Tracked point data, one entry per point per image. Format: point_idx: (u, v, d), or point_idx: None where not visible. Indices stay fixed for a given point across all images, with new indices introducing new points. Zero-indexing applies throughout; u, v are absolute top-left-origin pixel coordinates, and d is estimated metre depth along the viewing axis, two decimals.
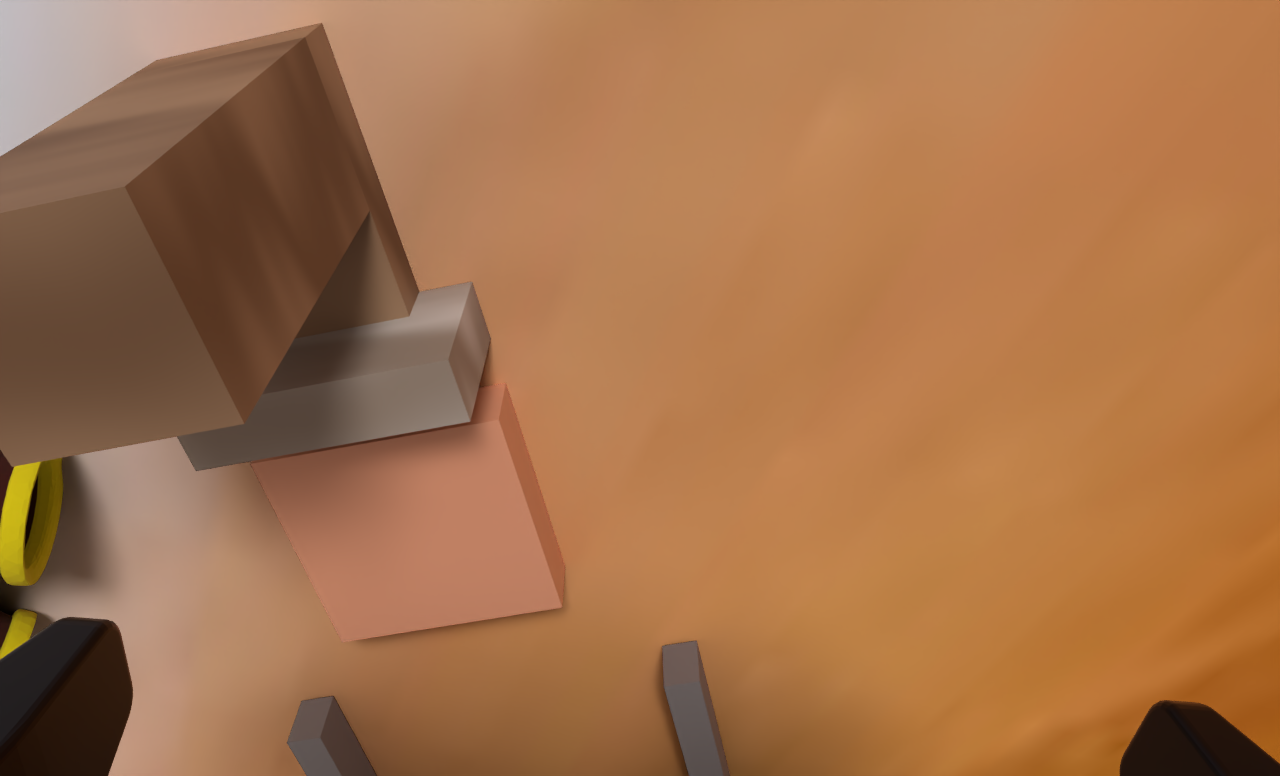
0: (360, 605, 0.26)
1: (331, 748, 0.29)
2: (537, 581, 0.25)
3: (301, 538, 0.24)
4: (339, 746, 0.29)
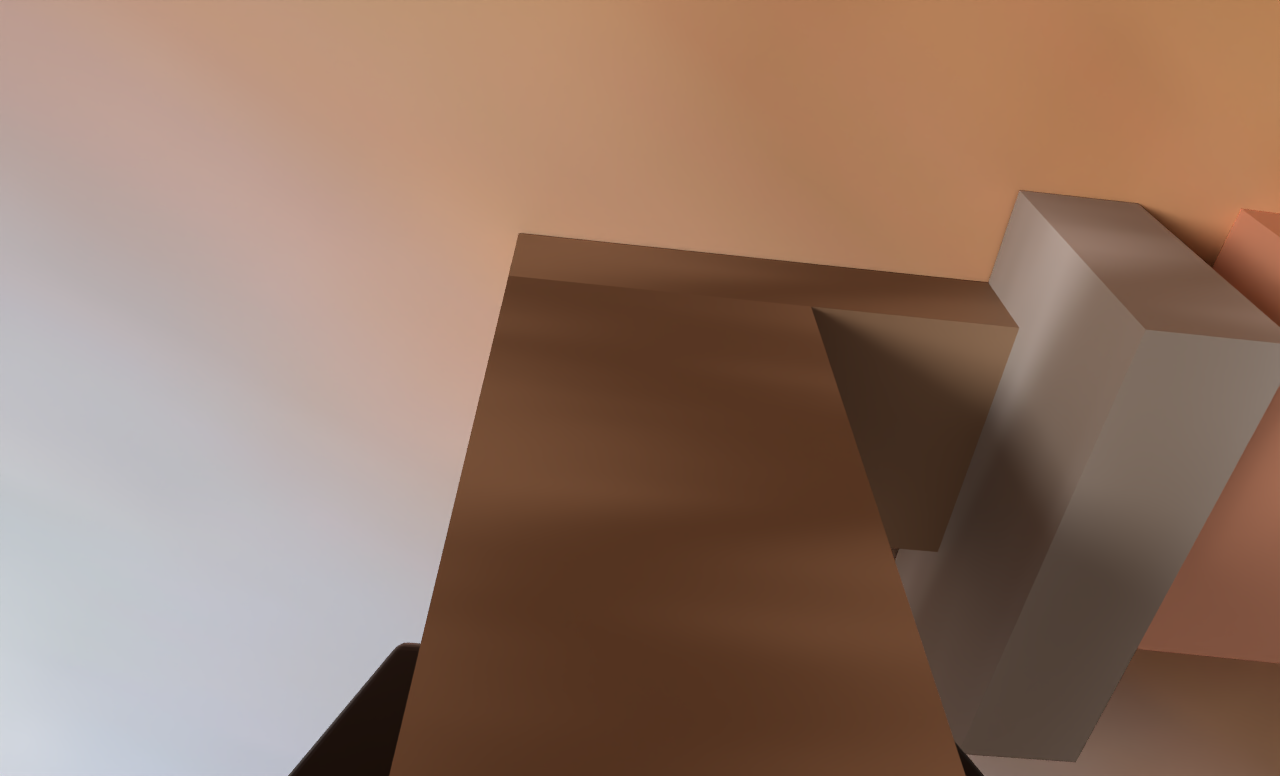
0: None
1: None
2: None
3: (1273, 646, 0.14)
4: None
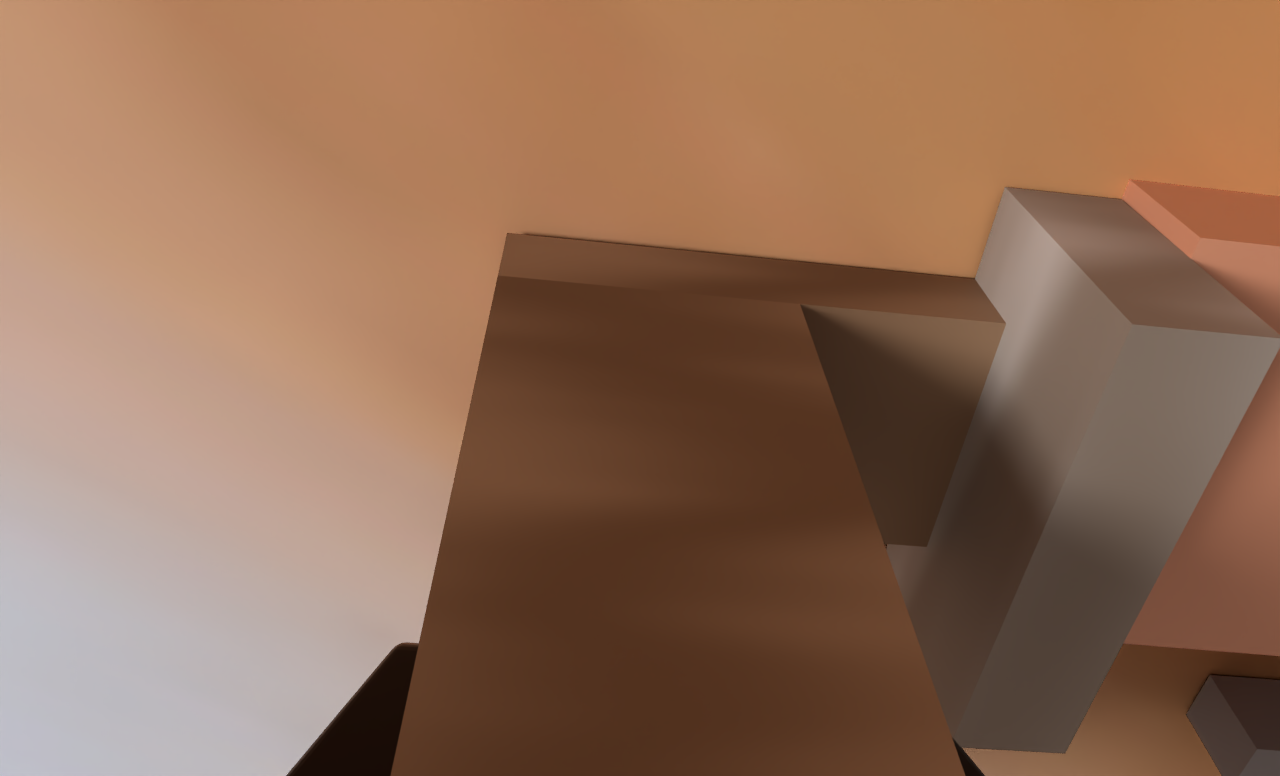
0: None
1: None
2: None
3: (1194, 633, 0.14)
4: None
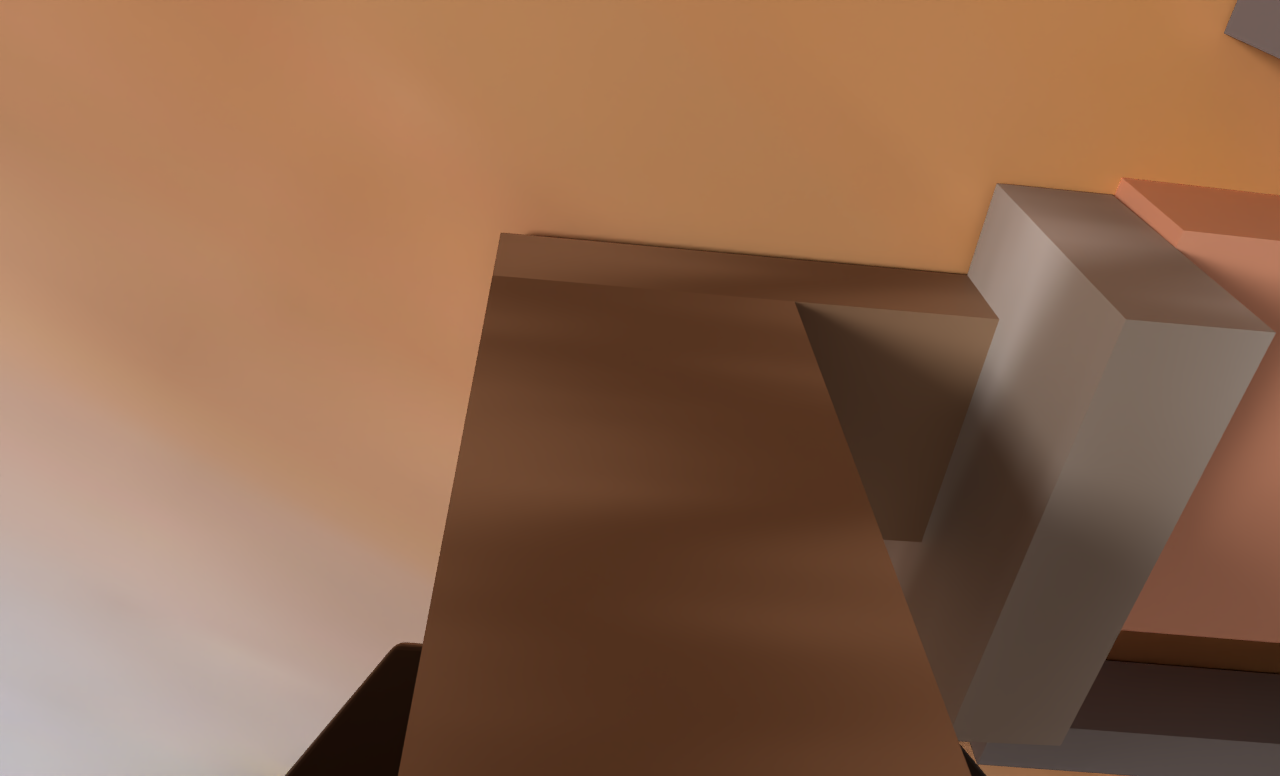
0: None
1: None
2: None
3: (1181, 619, 0.14)
4: None
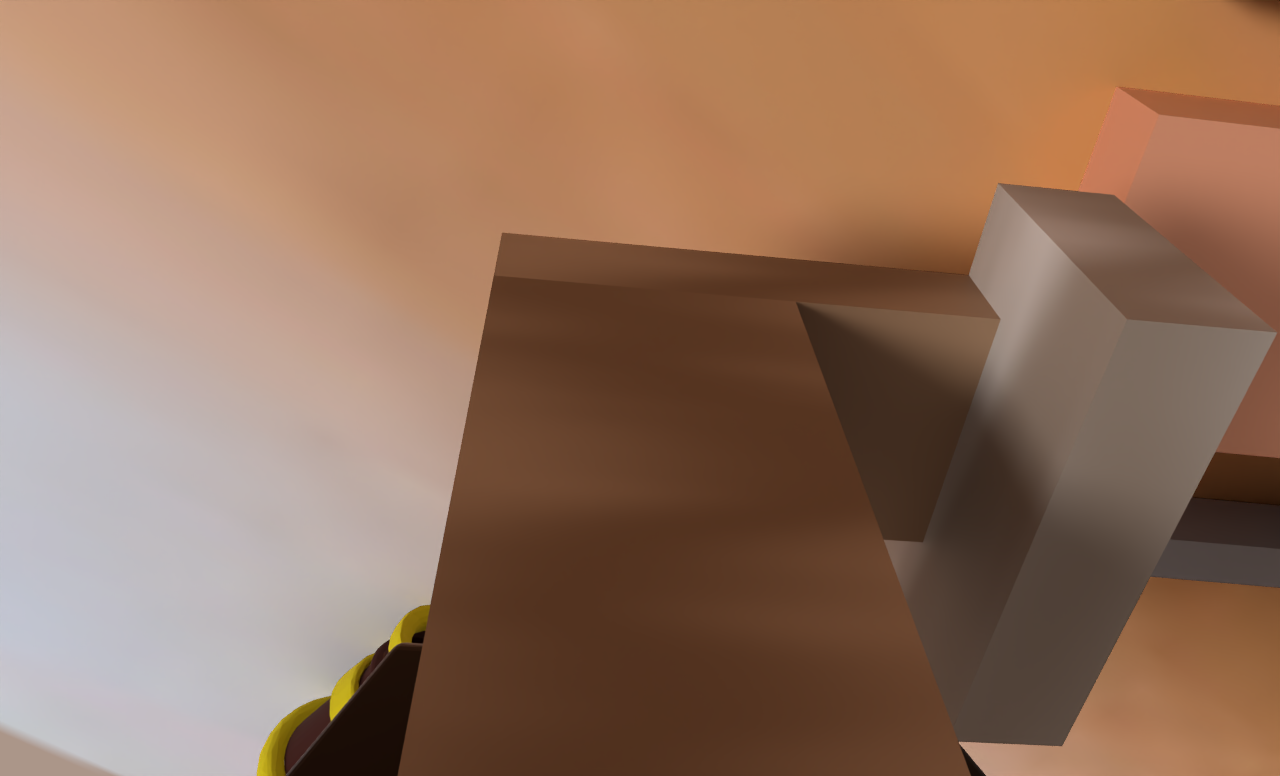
0: None
1: None
2: None
3: None
4: None
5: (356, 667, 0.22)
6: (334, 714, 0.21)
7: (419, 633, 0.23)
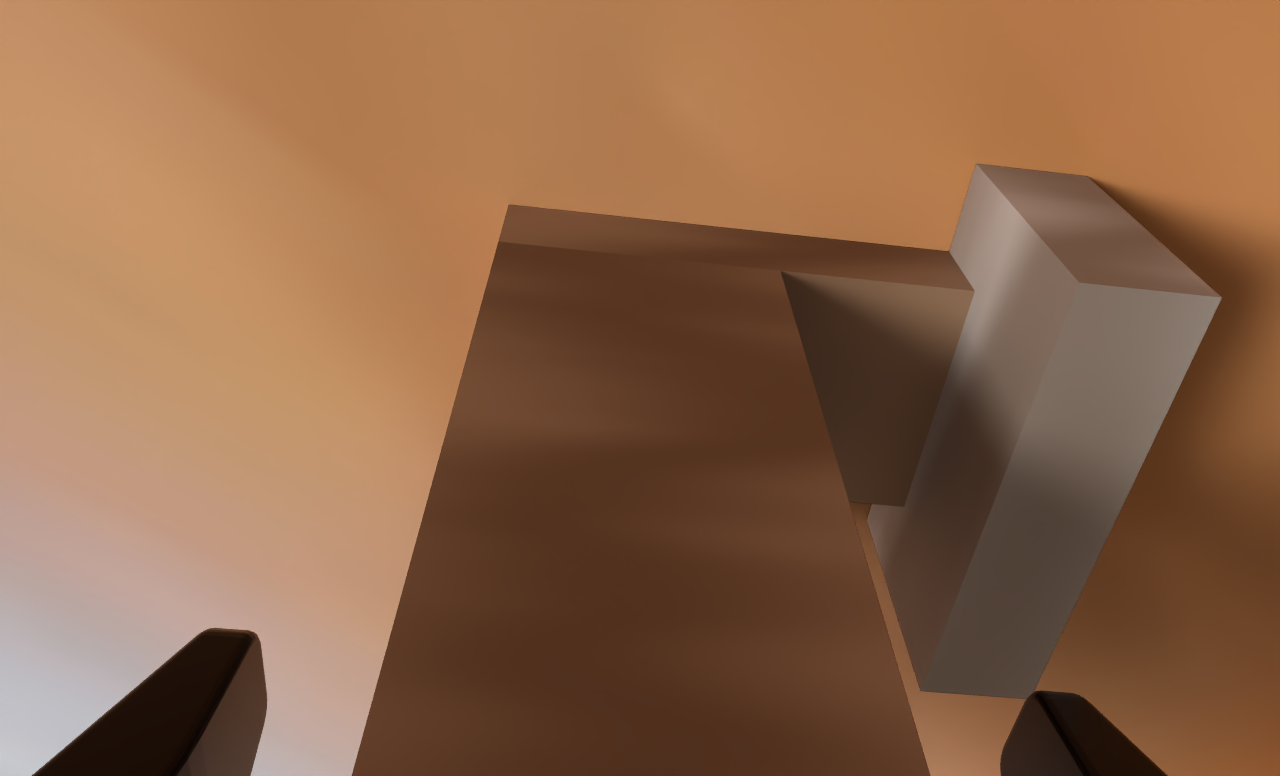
0: None
1: None
2: None
3: None
4: None
5: None
6: None
7: None
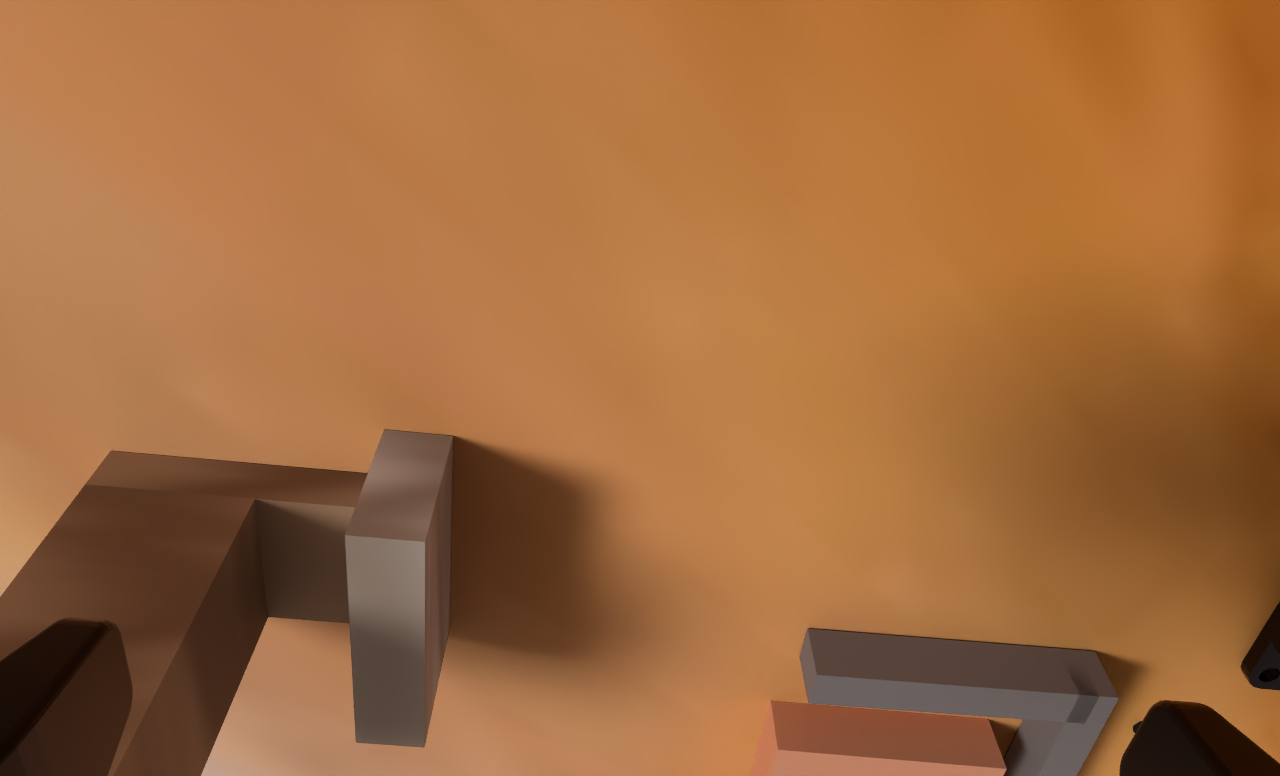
0: None
1: None
2: (964, 775, 0.26)
3: None
4: None
5: None
6: None
7: None
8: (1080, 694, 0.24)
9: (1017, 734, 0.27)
